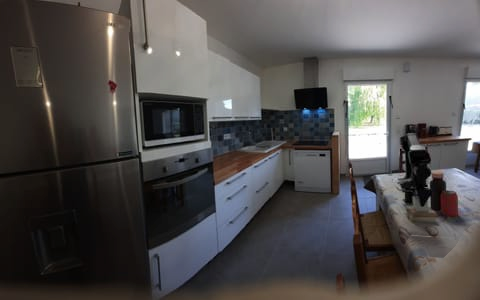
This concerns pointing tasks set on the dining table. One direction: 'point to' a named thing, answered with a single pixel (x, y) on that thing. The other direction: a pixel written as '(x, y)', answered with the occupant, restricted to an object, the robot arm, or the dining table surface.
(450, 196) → the beer can
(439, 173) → the bottle
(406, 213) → the mat
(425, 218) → the slab bottom
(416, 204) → the sage block
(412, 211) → the slab top
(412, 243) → the dining table surface
